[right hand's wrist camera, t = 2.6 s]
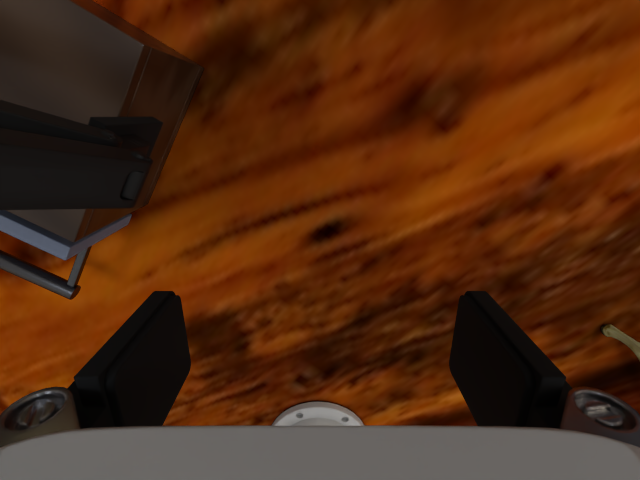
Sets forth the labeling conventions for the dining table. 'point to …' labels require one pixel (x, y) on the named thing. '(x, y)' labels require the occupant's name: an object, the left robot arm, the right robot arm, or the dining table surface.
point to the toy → (621, 338)
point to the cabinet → (91, 84)
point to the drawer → (51, 252)
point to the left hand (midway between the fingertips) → (47, 81)
